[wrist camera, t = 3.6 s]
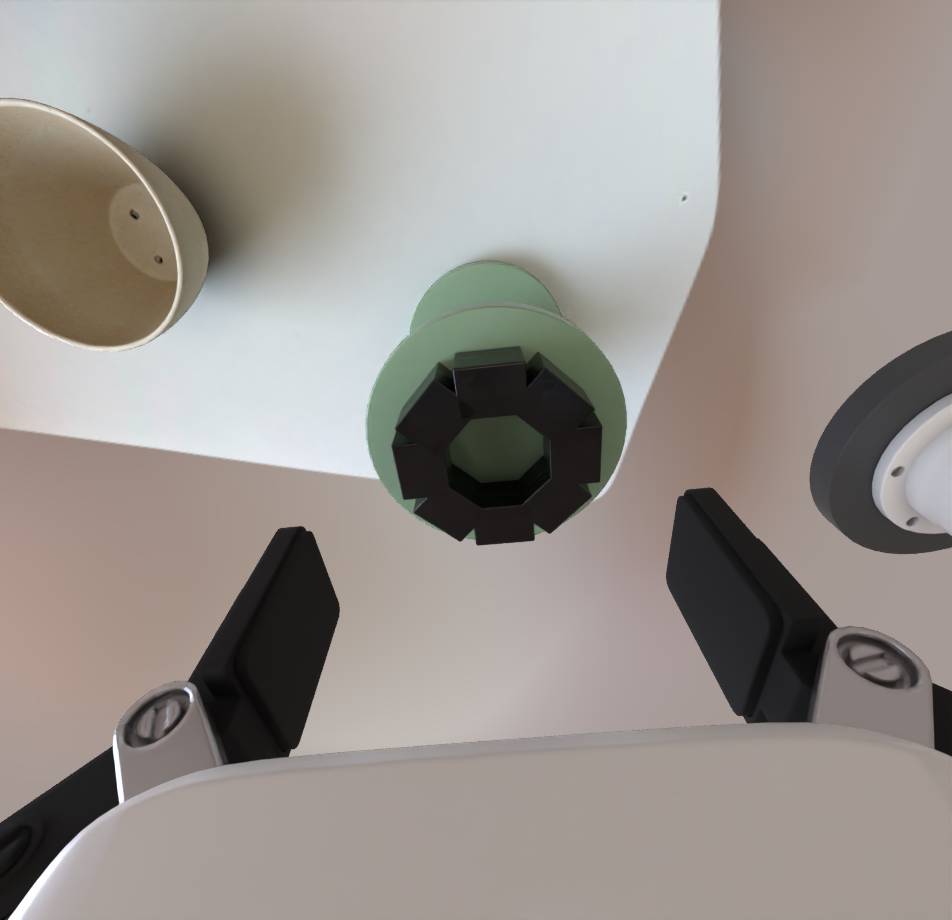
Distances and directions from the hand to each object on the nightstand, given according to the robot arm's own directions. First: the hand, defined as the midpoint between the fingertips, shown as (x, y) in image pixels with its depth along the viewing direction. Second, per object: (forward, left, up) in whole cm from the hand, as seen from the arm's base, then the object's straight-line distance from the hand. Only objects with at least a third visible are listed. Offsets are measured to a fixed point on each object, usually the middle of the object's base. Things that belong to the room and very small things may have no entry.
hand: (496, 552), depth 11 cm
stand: (0, 0, -20) cm, 20 cm away
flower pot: (+18, -8, -21) cm, 29 cm away
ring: (0, 0, -6) cm, 6 cm away
